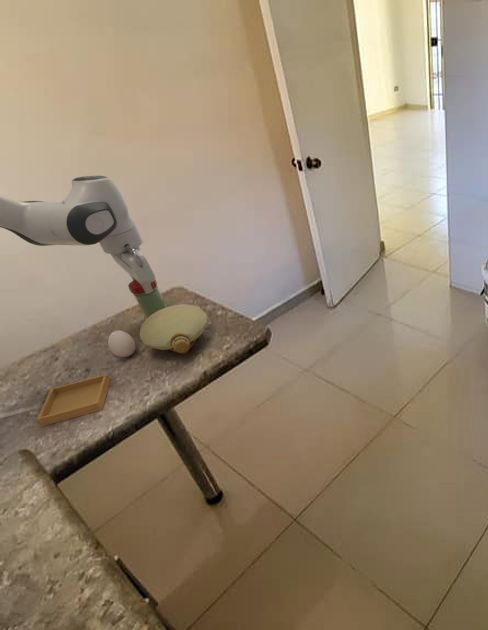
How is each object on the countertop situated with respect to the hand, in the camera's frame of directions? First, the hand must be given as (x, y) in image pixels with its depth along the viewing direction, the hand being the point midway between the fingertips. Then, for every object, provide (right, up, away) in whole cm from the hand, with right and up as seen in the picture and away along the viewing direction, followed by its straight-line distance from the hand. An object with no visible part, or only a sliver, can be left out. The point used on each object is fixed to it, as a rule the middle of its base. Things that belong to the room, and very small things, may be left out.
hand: (143, 287), depth 117 cm
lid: (0, +1, -1) cm, 1 cm away
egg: (+1, -18, -7) cm, 19 cm away
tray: (-1, -27, -21) cm, 34 cm away
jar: (0, -8, +6) cm, 10 cm away
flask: (+14, -15, -6) cm, 21 cm away
